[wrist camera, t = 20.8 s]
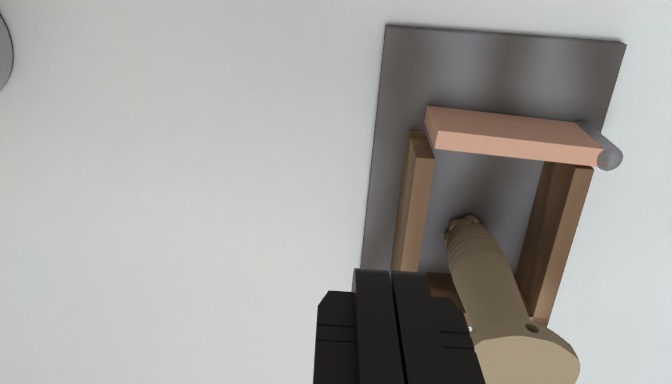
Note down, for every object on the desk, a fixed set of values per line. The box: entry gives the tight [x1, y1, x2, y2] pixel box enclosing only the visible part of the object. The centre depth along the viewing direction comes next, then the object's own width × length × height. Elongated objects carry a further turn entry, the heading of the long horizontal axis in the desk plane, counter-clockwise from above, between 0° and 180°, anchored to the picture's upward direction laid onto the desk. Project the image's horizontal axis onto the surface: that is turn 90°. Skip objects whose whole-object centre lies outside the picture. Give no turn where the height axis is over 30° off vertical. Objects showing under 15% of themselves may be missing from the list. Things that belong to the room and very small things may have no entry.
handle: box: [445, 215, 580, 384], centre depth 37 cm, size 5×6×15 cm
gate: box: [424, 106, 623, 171], centre depth 37 cm, size 12×2×5 cm, turn 84°
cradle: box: [360, 25, 627, 328], centre depth 40 cm, size 16×22×6 cm
